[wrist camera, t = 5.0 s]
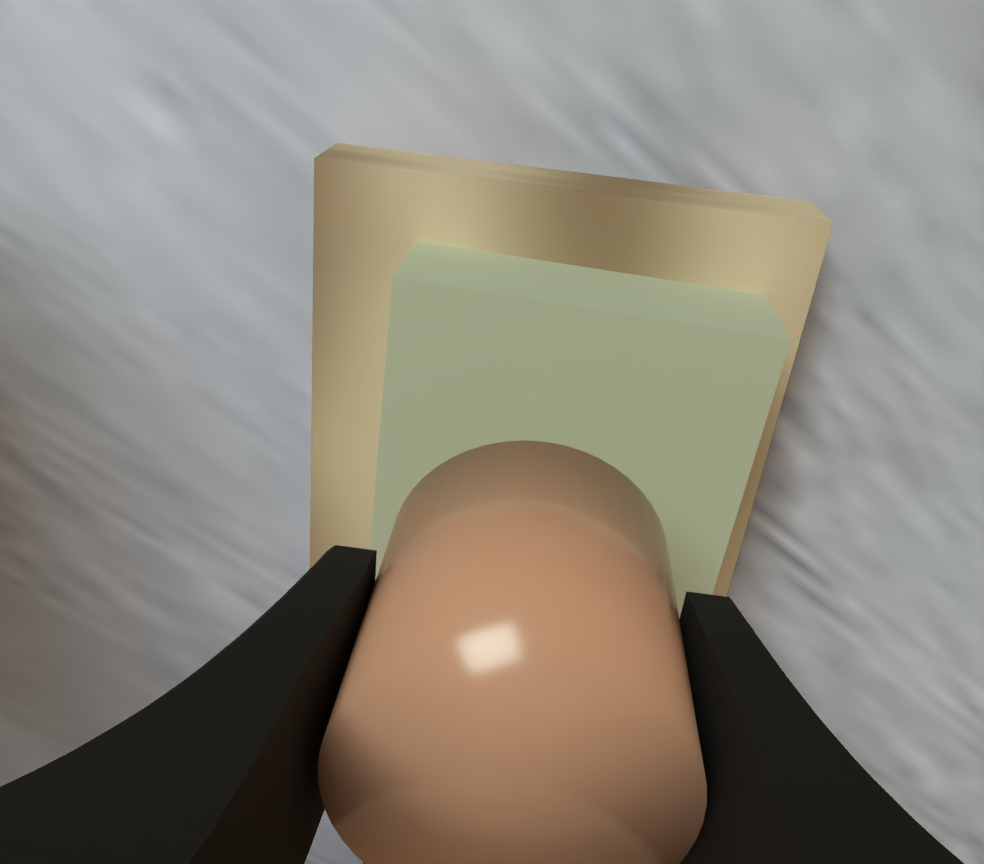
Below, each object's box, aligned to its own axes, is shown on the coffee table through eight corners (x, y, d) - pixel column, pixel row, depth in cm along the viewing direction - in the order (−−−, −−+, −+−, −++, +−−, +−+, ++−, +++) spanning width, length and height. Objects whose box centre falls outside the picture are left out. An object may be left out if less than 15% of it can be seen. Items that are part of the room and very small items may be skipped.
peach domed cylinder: (386, 652, 15) (317, 895, 11) (396, 423, 13) (316, 620, 9) (642, 684, 15) (667, 942, 11) (693, 459, 13) (746, 673, 9)
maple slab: (334, 520, 24) (309, 575, 22) (344, 137, 19) (314, 157, 17) (703, 570, 24) (716, 632, 21) (803, 194, 19) (833, 222, 17)
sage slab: (388, 531, 21) (365, 596, 19) (415, 240, 18) (392, 277, 15) (682, 578, 21) (695, 649, 18) (763, 294, 17) (791, 339, 15)
